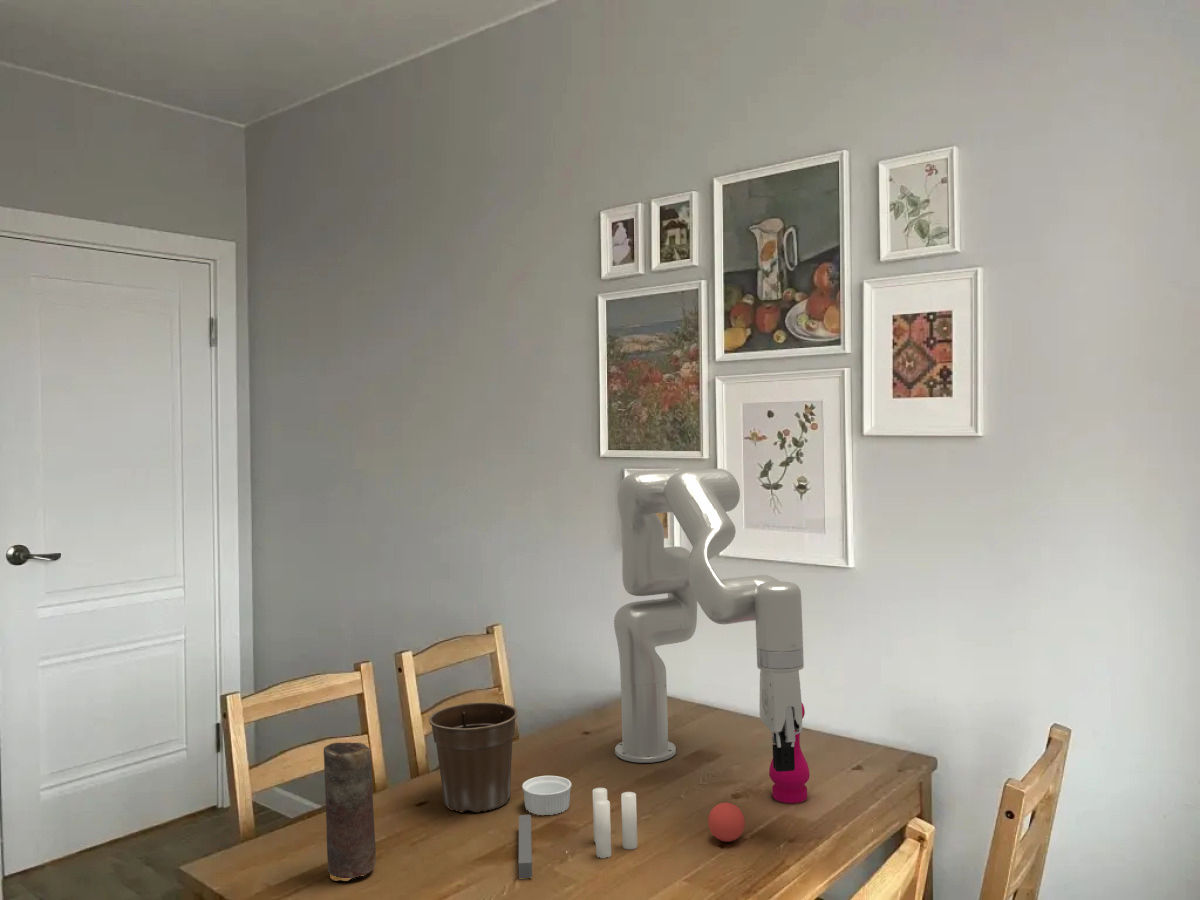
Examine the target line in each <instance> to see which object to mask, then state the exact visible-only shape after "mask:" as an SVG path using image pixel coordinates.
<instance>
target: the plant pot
mask: <svg viewBox="0 0 1200 900" xmlns="http://www.w3.org/2000/svg"><path fill="white" fill-rule="evenodd" d="M517 717H518V709H517V708H515V707H514V706H511V705H508V704H505V703H500V702H489V701H488V702H487V701H486V702H481V701H480V702H469V703H461V704H455V705H451V706H446V707H443V708H441V709H439V710H437V711H435V712H433V713H431V715H430V716H429V717H428V722H429V724H430V726H431V729H432V735H433V736H432V737H433V741H434V743H435V745H436V750H437V751H436V753H437V759H438V767H439V772H440V773H439V774H440V781H441V782H440V783H441V789H442V797H443V804H444V805H446V806H447V807H449V808H451V809H453V810H457V811H462V812H461V813H465V812H466V811H471V812H473V813H474V812H476V813H481V812H480V811H484V812H488V811H487V810H490V811H493V810H495V808H496V809H498V808H500V807H502V806H504V805H505V804H507V803H508V802H509V799H510V798H511V781H512V780H511V779H512V760H513V759H512V755H513V754H512V753H513V739H514V738H513V737H515V732H516V731H515V727H516V719H517ZM446 806H445V807H446ZM447 807H446V808H447ZM449 808H448V809H449ZM451 809H450V810H451ZM492 809H493V810H492ZM453 810H452V811H453ZM457 811H456V812H457ZM464 811H465V812H464Z"/></svg>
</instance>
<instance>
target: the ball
mask: <svg viewBox="0 0 1200 900" xmlns="http://www.w3.org/2000/svg"><path fill="white" fill-rule="evenodd" d="M707 820H708V821H707V824H708V829H709V831H710V833H711V834H712V836H714V837H715V838H716V839H717V840H719V841H720V842H726V843H729V842H733V841H736V840H737V839H739V837H741V836H742V834H743V832H744V830H745V827H746V821H745V817H744V814H743V812H742V810H741V809H740V808H739V806H737V805H735V804H733V803H732V802H720V803H718V804H716V805H715V806H714V807H713V808H712V809H711V810H710V812H709V814H708V819H707Z"/></svg>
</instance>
